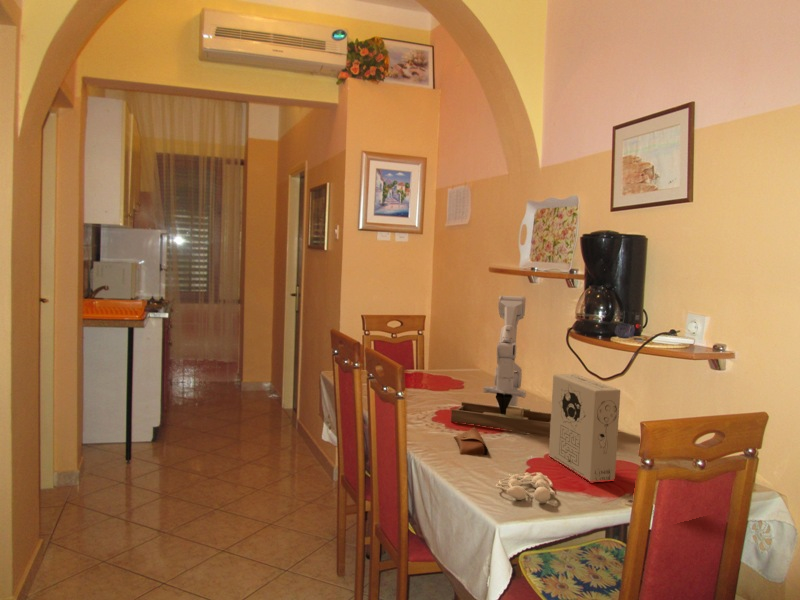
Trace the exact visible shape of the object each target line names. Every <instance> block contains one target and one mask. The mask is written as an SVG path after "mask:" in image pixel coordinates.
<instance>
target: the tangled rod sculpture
mask: <svg viewBox="0 0 800 600" xmlns="http://www.w3.org/2000/svg"><path fill="white" fill-rule="evenodd" d="M507 480H508V481H507ZM529 484H531V485H532V487H533V489H535V490H534V491H533V492H534V494H530V492H529V491H527V490H526V489H525V488H524V487H523V486H521V485H529ZM506 487H508V488H506ZM495 488H497V489H500V490H504V491H506V494H507V495H508V496H509V497H511V498H513V499H515V500H517V501H523V500H525V499H526V497H527V496H529V498H533V497H534V499H535V500H536V501H537V503H539V504H545V503H547V502H548V501H549V500H550V498H551V495H553V496H555V495H556V491H555V490H553V489H552V488H553V482H552V480H551V479H549V477H548V476H547V475H544V474H543V473H542V472H532V473H530V472H528V471H527V472H525V473H515V474H514V473H509V474H508V477H506V478H503V479H500V480H498V483H496V484H495ZM533 495H534V496H533Z"/></svg>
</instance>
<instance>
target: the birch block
mask: <svg viewBox="0 0 800 600" xmlns="http://www.w3.org/2000/svg"><path fill="white" fill-rule="evenodd" d="M523 411H524V406H523V407H522V406H518V405H517V406H509V407H508V408H507V409H506V415H512V416H519V417H523Z"/></svg>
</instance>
